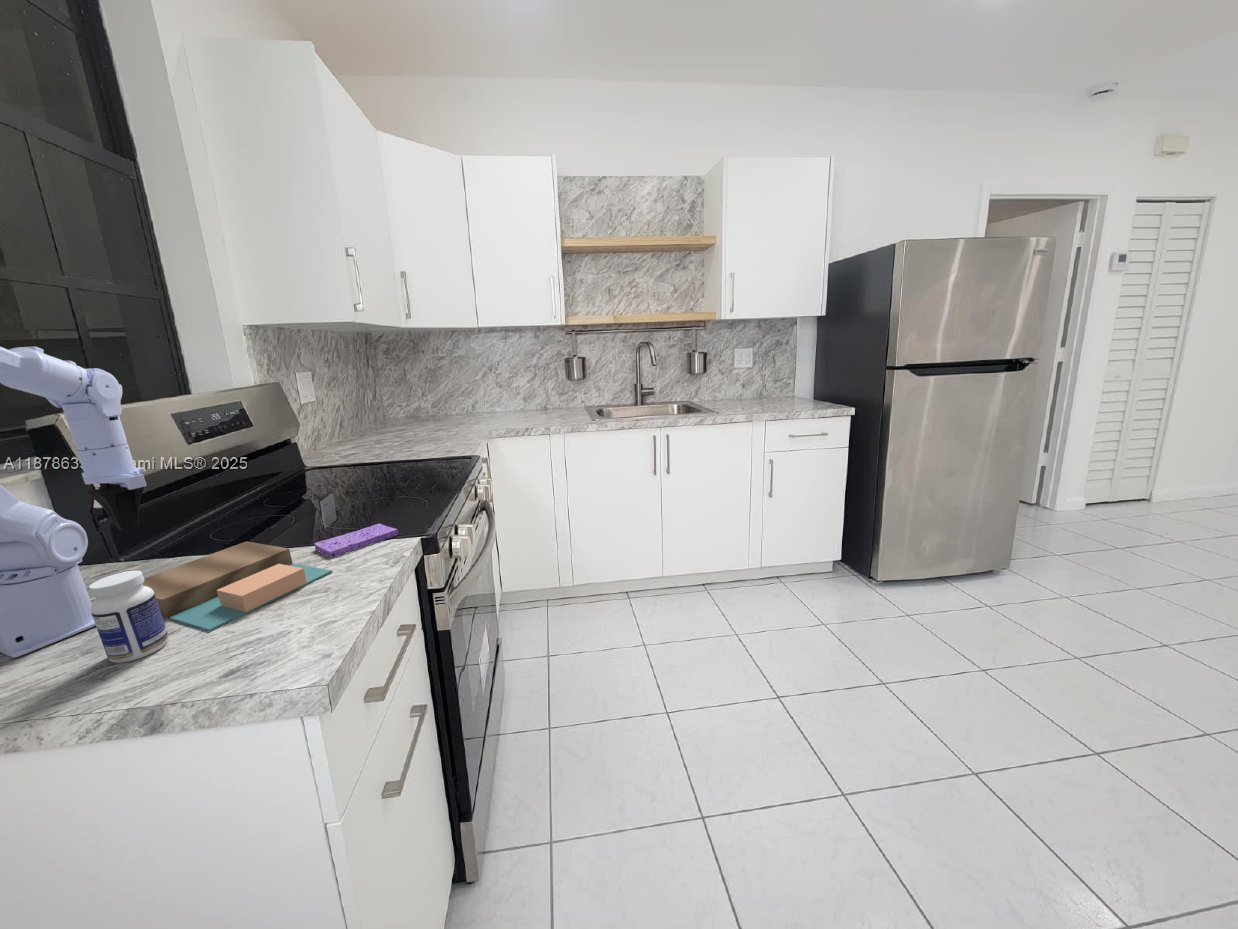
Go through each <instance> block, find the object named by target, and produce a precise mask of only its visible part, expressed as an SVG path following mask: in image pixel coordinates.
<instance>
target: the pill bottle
mask: <svg viewBox="0 0 1238 929" xmlns="http://www.w3.org/2000/svg"><path fill="white" fill-rule="evenodd" d="M144 578H145V577H144V574H143V572H142V571H141V570H128V571H122V572H117V573H114V574H112V575H111V574H110V575H108V576H105V577H103V578H100V579H98V580H96V581H94V582H92V583H91V584H90V585H89V586H88V589H89V592H90V595H91V597H92V598H95V600H94V602H93V603H91V604H92V606H91V609H90V610H91V614H92V617H93V619H94V622H95V625H96V626H95V628H96V630H97V632H98V636H99V638H100V641H101V643H102V646H103V649H104V651H105V654H106V656H107V659H108V660H109V661H110V662H112V663H116V664H121V663H122V664H123V663H128V662H133V661H136V660H139V659H142V658H144V657H145V658H146V657H147V656H149V655H151V654H153V653H155V652H157V651H158V650H161V649H162V648H163V647H164V646H166V645H167V643H168V642H169V639H170V635H169V633H168V630H167V627H166V623H165V621H164V619H163V618H164V617H162V615H161V612H160V609H159V606H158V602H157V599H156V596H155V593H154V591H153V590H152V589H151V588H149V587H147V586H143V582H144Z"/></svg>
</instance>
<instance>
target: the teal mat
mask: <svg viewBox="0 0 1238 929" xmlns="http://www.w3.org/2000/svg"><path fill="white" fill-rule="evenodd" d="M292 563H293V562H292ZM289 566H294V567H299V568H304V573H305V577H306V581H307V583H306V584H304V585H302V586H300V587H298V588H296V589H294V590H291V591H289V592H287V593H285V594H283V595H281V596H279V597H277V598H275V599H273V600H271V601H269V602H266V603H264V604H262V605H260V606H258V607H256V608H254V609H252V610H250V611H248V612H243V611H240V610H236V609H232V608H228V607H224V606H221V604H220V601H219V597H218V596H217V597H215V598H213V599H210V600H208V601H206V602H203V603H201V604H199V605H196V606H194V607H192V608H190V609H187V610H185V611H183V612H180V613H178V614H176V615H173V616H171V617H169V619H168V620H171V621H174V622H178V623H181V624H184V625H186V626H187V625H188V626H190V627H194V628H198V629H199V630H200V629H201V630H204V631H207V632H212V631H213V630H216V629H218V628H220V627H222V626H223V625H226V624H228V623H231V622H232V621H235V620H236V619H239V618H240V617H243V616H244V615H247V614H249V613H251V612H253V611H255V610H258V609H260V608H261V607H263V606H266V605H268V604H269V603H272V602H274V601H276V600H278V599H281V597H284V596H286V595H288V594H290V593H292V592H294V591H297V590H298V589H302V588H303V587H304V586H305V587H306V586H307V585H309V584H311V583H313V582H315V581H317V580H320V579H321V578H323V577H325V576H327V575H330V574H331V573H333V570H332V569H331V570H329V569H326V568H325V569H324V568H320V567H315V566H309V565H305V564H299V563H293V564H291V565H289Z"/></svg>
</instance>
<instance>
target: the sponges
mask: <svg viewBox="0 0 1238 929" xmlns="http://www.w3.org/2000/svg"><path fill="white" fill-rule="evenodd" d="M398 534H399V531H398V529H397V528H394V527H391V526H388V525H384V524H382V523H378V524H377V523H376V524H373V525H371V526H367V527H364V528H361V529H360V530H359V529H358V530H356V531H355V530H354V531H352V532H348V533H345V534H343V535H338V536H334V537H330V538H329V539H323V540H320V541H317V542H315V543H313V545H314V548H315V551H316V550H317V552H318V551H320V552H322V553H323V555H324V556H326V555H327V557H328V556H329V557H328V558H330V557H331V559H332V558H335V557H338V555H339V556H341V555H344V553H345V554H347V553H346V552H348V553H350V552H353V551H356V550H358V548H359V549H362V548H364V547H366V546H365V545H368V544H371V545H373V543H374V544H376V543H375V542H377V541H379V542H382V541H385V540H387V539H390V538H394V537H396V536H397V535H398ZM377 543H378V542H377ZM368 546H369V545H368ZM355 549H356V550H355ZM349 551H350V552H349ZM320 552H319V553H320ZM322 553H321V554H322Z"/></svg>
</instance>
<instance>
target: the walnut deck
mask: <svg viewBox="0 0 1238 929" xmlns="http://www.w3.org/2000/svg"><path fill="white" fill-rule="evenodd" d="M277 564H283V565H288V566H289V565H291V564H293V559H292V554H291V551H290V548H289V547H288V548H287V547H281V546H276V545H270V544H269V545H268V544H263V543H257V542H254V541H253V542H252V541H243V542H241V543H238V544H236V545H232V546H230V547H227V548H224V549H222V550H219V551H216V552H214V553H210V554H207V555H204V556H202V557H199V558H196V559H193V560H190V561H188V562H185V563H183V564H180V565H177V566H175V567H172V568H169V569H166V570H164V571H161V572H157V573H156V574H153V575H150V576H147V577H144V582H143V586H147V587H149V588H151V589H152V590H153V591H154V593H155V596H156V599H157V602H158V606H159V609H160V612H161V615H162V617H163V618H164V619H167V620H170V619H169V617H171V616H173V615H176V614H178V613H180V612H183V611H185V610H187V609H190V608H192V607H194V606H196V605H199V604H201V603H203V602H206V601H208V600H210V599H213V598H215V597H217V596H218V594H217V590H218V589H220V588H223V587H225V586H227V585H230V584H232V583H234V582H237V581H239V580H241V579H244V578H246V577H249V576H251V575H253V574H256V573H258V572H260V571H263V570H265V569H267V568H270V567H272V566H275V565H277Z"/></svg>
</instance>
